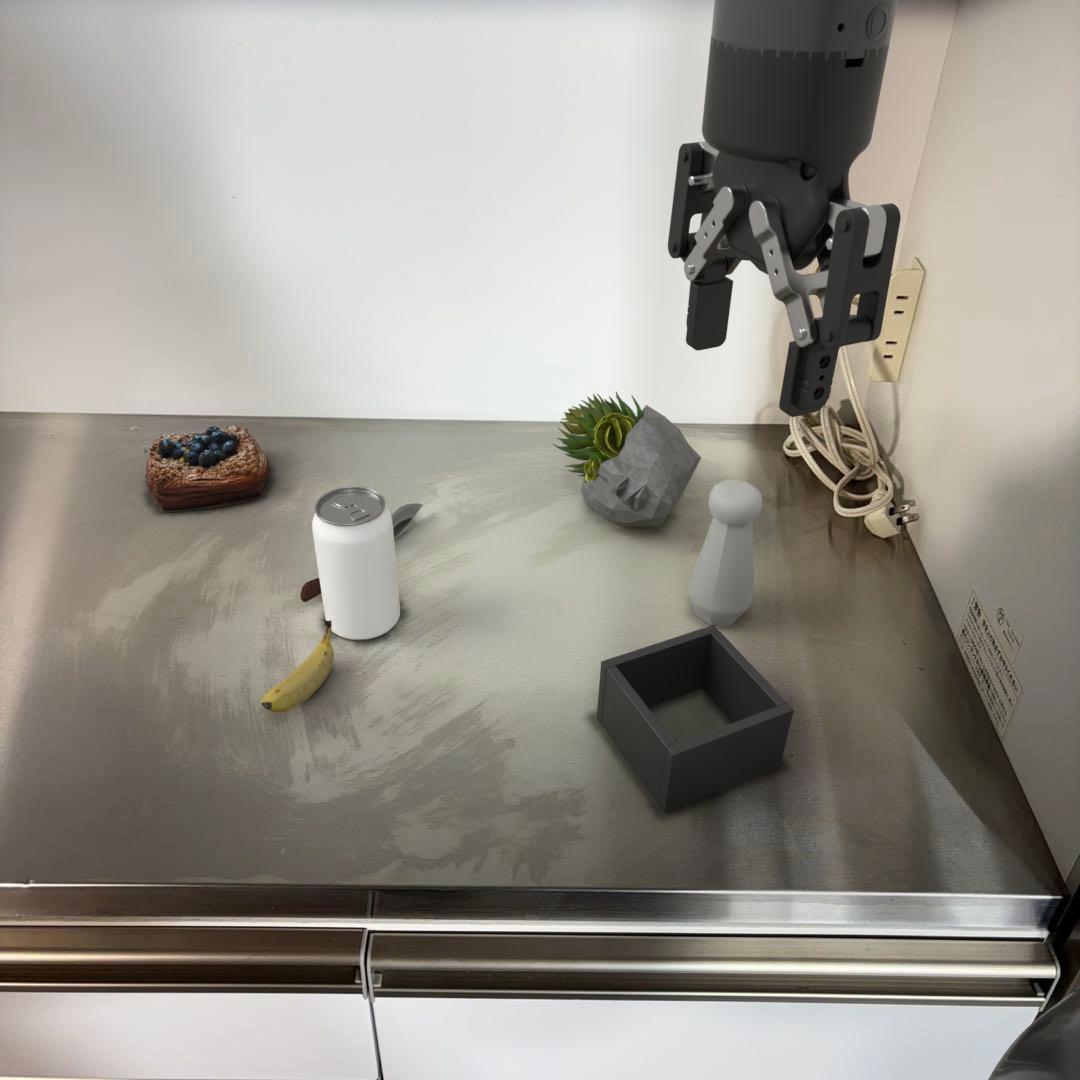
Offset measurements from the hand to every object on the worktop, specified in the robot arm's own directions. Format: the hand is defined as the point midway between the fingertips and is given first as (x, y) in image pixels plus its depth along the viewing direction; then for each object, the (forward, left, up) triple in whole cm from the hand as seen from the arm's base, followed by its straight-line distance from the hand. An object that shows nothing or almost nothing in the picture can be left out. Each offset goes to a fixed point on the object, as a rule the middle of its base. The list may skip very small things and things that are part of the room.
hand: (750, 377), depth 51 cm
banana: (+21, +22, -33) cm, 45 cm away
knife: (+36, +12, -33) cm, 50 cm away
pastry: (+56, +23, -33) cm, 69 cm away
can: (+28, +15, -33) cm, 46 cm away
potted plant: (+34, -14, -33) cm, 49 cm away
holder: (+4, -3, -33) cm, 33 cm away
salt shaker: (+16, -14, -33) cm, 39 cm away
